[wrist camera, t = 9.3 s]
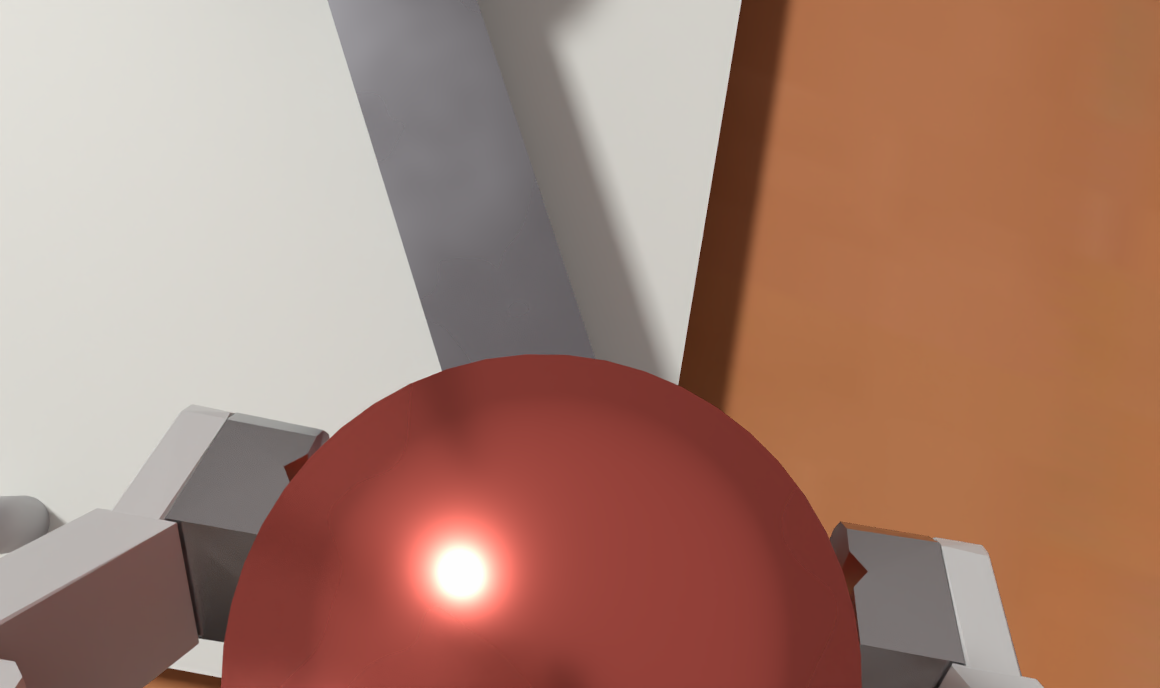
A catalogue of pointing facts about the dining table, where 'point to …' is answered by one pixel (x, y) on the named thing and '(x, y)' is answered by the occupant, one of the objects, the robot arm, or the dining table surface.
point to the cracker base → (299, 218)
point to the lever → (521, 456)
